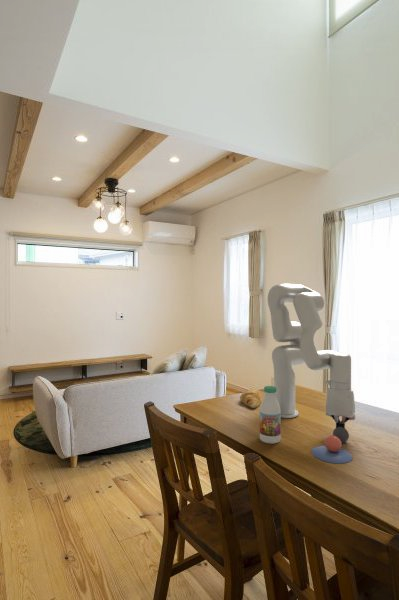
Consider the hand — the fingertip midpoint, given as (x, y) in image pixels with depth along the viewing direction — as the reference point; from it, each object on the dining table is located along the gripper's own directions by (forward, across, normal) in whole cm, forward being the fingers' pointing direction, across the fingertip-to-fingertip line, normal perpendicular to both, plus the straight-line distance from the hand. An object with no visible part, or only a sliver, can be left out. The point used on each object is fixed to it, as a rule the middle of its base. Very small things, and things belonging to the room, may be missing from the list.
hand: (340, 432), depth 134 cm
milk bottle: (+2, -22, -18) cm, 28 cm away
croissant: (+2, -47, +22) cm, 51 cm away
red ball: (-1, 0, -16) cm, 16 cm away
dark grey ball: (-1, +1, -6) cm, 6 cm away
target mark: (+2, 0, -18) cm, 18 cm away
